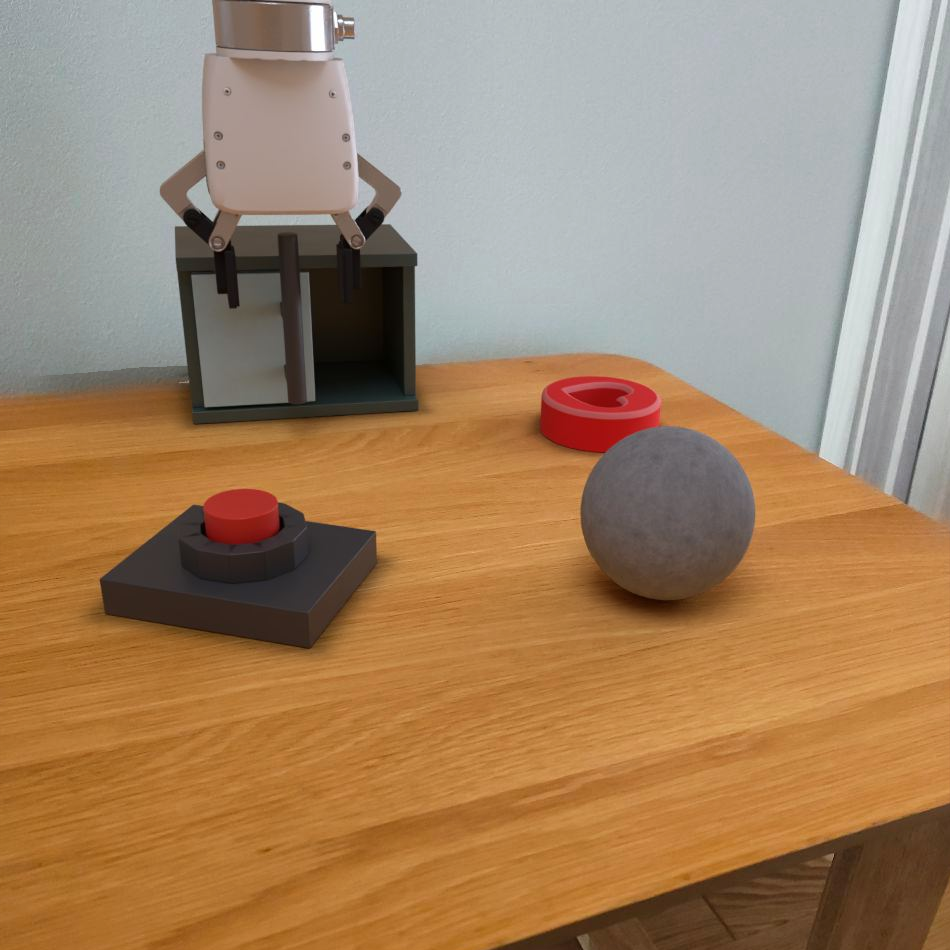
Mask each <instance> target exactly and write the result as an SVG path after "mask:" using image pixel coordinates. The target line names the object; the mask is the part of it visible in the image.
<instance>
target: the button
mask: <svg viewBox="0 0 950 950" xmlns="http://www.w3.org/2000/svg"><path fill="white" fill-rule="evenodd" d="M278 502H279V501H278V498H277V497H276V496H275V495H274V494H272V493H270V492H268V491H267V490H262V489H257V488H256V489H255V488H237V489H229V490H225V491H221V492H218V493H216V494H213V495H211V496H210V497H208V498H207V499H206V500H205V501H204V503H203V505H202V506H203V509H204V518H205V528H206V535H207V537H208V539H210V540H212V541H213V542H219V543H226V544H233V545H235V544H246V543H256V542H259V541H262V540H265V539H268V538H270V537H273V536H276V535H277V534H278V533H279V530H280V525H279V511H278Z"/></svg>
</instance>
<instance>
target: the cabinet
mask: <svg viewBox="0 0 950 950" xmlns="http://www.w3.org/2000/svg"><path fill="white" fill-rule="evenodd" d="M282 232H292V233H296V234H297V235H298V250H299V268H300V271H308V272H309V287H310V306H311V325H312V344H313V364H314V383H315V401H309V402H306V403H303V404H291V403H274V404H256V405H238V406H220V407H205V406H204V396H203V386H202V376H201V367H200V357H199V347H198V337H197V327H196V318H195V308H194V298H193V288H192V278H191V274H192V273H215V262H214V252H213V250H212V249H211V248H210V246H209V245H208V244H207V243H206V242H205V241H204V240H203V239H201V238H200V237H199V236H198V235H197V234H196V233H195V232H193V231H192V230H191V229H190V228H189V227H188V226H187V225H175V226H174V251H175V252H174V253H175V254H174V255H175V257H174V258H175V266H176V268H175V269H176V273H177V274H176V275H177V282H178V283H177V284H178V291H179V302H180V313H181V318H182V319H181V320H182V321H181V322H182V330H183V338H184V348H185V356H186V366H187V367H186V368H187V375H188V385H189V386H188V387H189V394H190V403H191V414H192V422H193V425H200V424H219V423H233V422H234V423H236V422H251V421H269V420H284V419H285V420H286V419H301V418H317V417H333V416H349V415H350V416H352V415H364V414H365V415H366V414H384V413H399V412H400V413H401V412H416V411H419V399H418V397H417V369H416V368H417V364H416V363H417V361H416V359H417V358H416V357H417V356H416V354H417V353H416V348H417V347H416V343H417V342H416V339H417V338H416V267H418V264H419V263H418V253H417V252H416V250H415V249H414V248H413V247H412V246H411V245H410V244H409V243H408V242H407V241H406V240H405V239H404V237H403V236H401V234H400V233H399V232H398V231H397V230H396V229H395V228H394V226H392V224H390V223H382V224H381V225H380V226H379V227H378V228H377V230H376V231H375V232H374V233H373V234H372V235H371V236H370V237H369V238H368V239H367V240H366V241H365V244H364V246H363V247H362V248H361V249H360V262H361V290H356V291H353V298H354V304H353V305H346V304H345V303H343V302H342V300H341V298H340V296H339V294H338V275H337V250H336V244H339V241H340V235H341V234H342V233H341V231H340V230H339V228H338V227H337V225H336V224H276V225H275V224H273V225H271V224H270V225H267V224H266V225H263V224H261V225H237V226H236V228H235V230H234V232H233V234H232V236H231V238H230V239H231V246H234V250H235V255H236V267H237V272H276V271H280V268H279V252H278V237H277V235H278V234H279V233H282Z"/></svg>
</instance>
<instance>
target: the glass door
mask: <svg viewBox="0 0 950 950" xmlns="http://www.w3.org/2000/svg"><path fill="white" fill-rule="evenodd" d="M277 237H278V252H279V268H280V271H276V272H237V279H238V291H239V304H240V307H237V308H236V309H229V303H228V297H227V294H218V293H217V284H216V273H192V274H191V278H192V288H193V298H194V308H195V318H196V327H197V337H198V347H199V357H200V367H201V376H202V386H203V396H204V406H205V407H220V406H238V405H256V404H274V403H291V404H303V403H306V402H309V401H315V383H314V364H313V344H312V325H311V306H310V287H309V272H308V271H300V268H299V250H298V235H297V234H296V233H292V232H282V233H279V234H278V235H277Z"/></svg>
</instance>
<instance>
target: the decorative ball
mask: <svg viewBox="0 0 950 950" xmlns="http://www.w3.org/2000/svg"><path fill="white" fill-rule="evenodd" d="M580 500H581V501H580V507H579V508H580V510H579V511H580V513H579V514H580V527H581V532H582V536H583V539H584V542H585V545H586V549H588V552H589V554H590V556H591V557H592V559H593V560H594V562H595V563H596V565H597V566H598V567H599V569H600V570H601V571H602V572H603V574H605V575H606V576H607V578H609V579H610V580H611V581H612V582H613V583H614V584H617V585H618V586H619V587H621V588H622V589H624V590H626V591H628V592H630V593H632V594H635V595H637V596H640V597H644V598H647V599H651V600H658V601H678V600H683V599H689V598H692V597H696V596H699V595H701V594H703V593H706V592H707V591H709V590H711V589H714V588H715V587H717V585H719V584H721V583H722V582H723V581H724V580H726V579H727V578H728V577H729V576H730V575H731V574H732V573H733V572H734V571H735V570H736V568H737V567H738V566H739V565H740V564H741V562H742V561H743V558H744V557H745V555H746V554H747V551H748V549H749V547H750V544H751V541H752V539H753V535H754V529H755V524H756V502H755V501H756V500H755V495H754V490H753V487H752V484H751V481H750V480H749V477H748V475H747V472H746V471H745V469H744V467H743V466H742V465H741V463H740V462H739V460H738V458H736V457H735V455H734V454H733V453H732V452H731V451H730V450H729V449H728V448H727V447H726V446H724V445H723V444H722V443H720V442H719V441H717V440H715V439H714V438H713V437H711V436H709V435H707V434H705V433H703V432H700V431H698V430H695V429H692V428H687V427H683V426H676V425H674V426H673V425H662V426H659V427H653V428H648V429H644V430H641V431H638V432H635V433H633V434H631V435H629V436H627V437H625V438H623V439H622V440H620V441H619V442H617V443H616V444H615V445H613V446H612V447H611V448H610V449H609V450H608V451H606V452H603V454H602V455H601V457H599V459H598V461H597V462H596V463H595V465H593V468H592V470H590V473H589V474H588V477H587V479H586V481H585V484H584V487H583V490H582V494H581V499H580Z"/></svg>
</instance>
